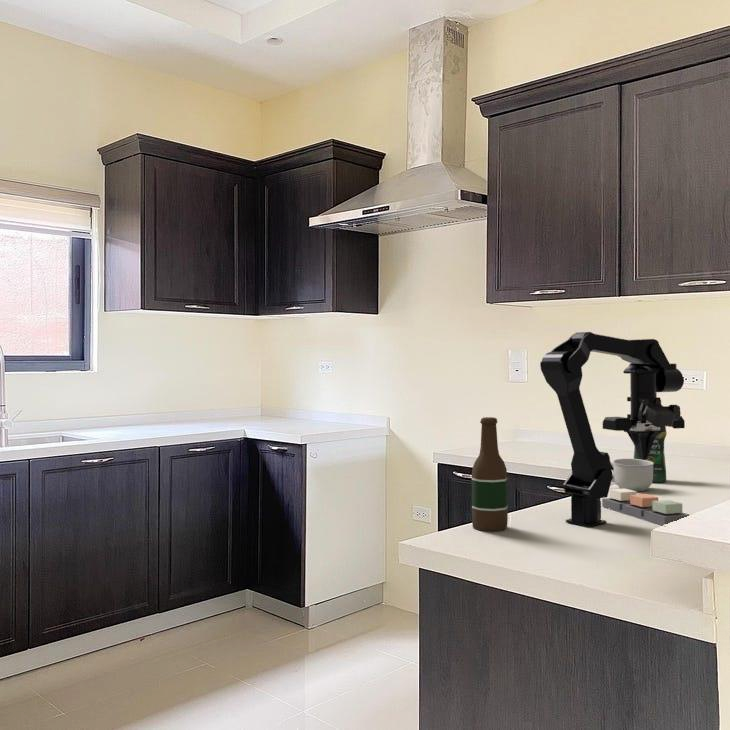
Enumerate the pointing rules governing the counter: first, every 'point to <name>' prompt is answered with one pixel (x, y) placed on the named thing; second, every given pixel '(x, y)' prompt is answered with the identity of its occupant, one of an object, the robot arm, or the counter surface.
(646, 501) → the terracotta button
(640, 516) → the button bank
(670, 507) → the sage button
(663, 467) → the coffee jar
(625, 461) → the teacup
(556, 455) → the counter surface
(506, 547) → the counter surface
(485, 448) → the beer bottle
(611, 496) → the cream button
